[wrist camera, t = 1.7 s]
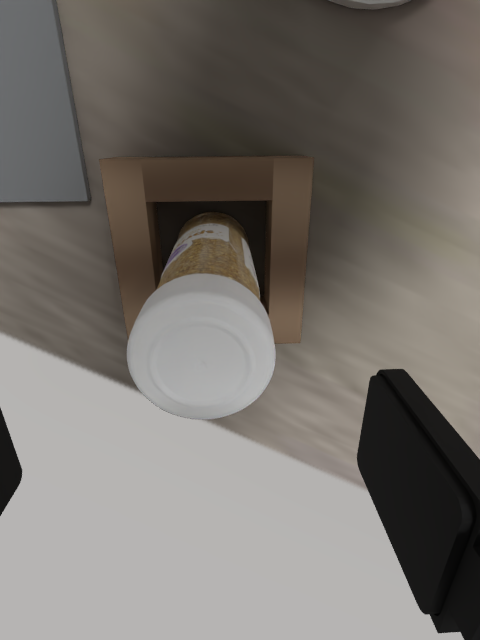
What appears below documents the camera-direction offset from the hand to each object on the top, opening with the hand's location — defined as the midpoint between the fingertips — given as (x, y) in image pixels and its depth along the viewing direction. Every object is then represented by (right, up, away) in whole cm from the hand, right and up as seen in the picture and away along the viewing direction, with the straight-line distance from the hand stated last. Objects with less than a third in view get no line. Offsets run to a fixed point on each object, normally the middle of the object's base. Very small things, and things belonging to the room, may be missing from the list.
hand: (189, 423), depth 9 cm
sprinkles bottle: (0, +7, +14) cm, 16 cm away
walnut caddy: (0, +7, +14) cm, 15 cm away
